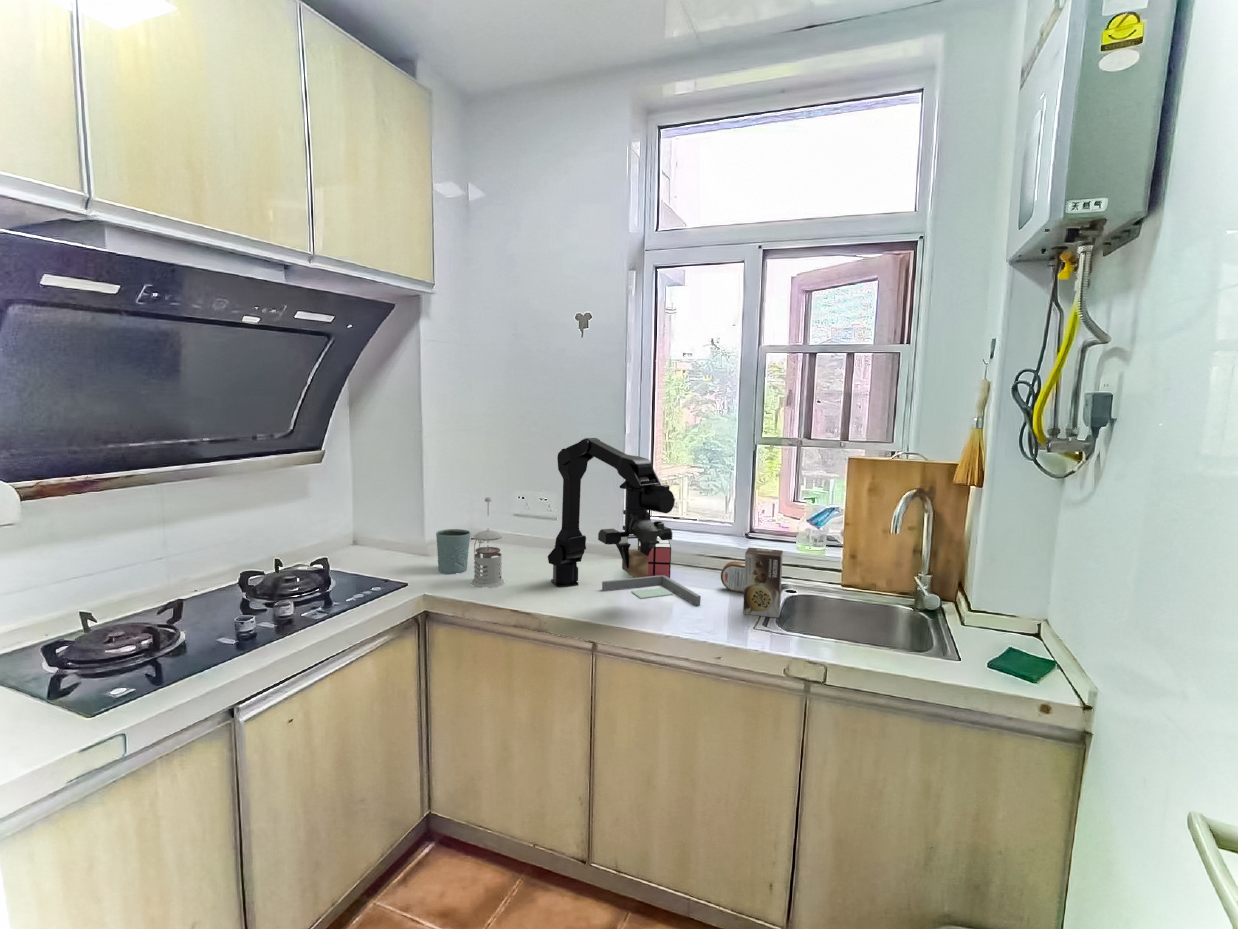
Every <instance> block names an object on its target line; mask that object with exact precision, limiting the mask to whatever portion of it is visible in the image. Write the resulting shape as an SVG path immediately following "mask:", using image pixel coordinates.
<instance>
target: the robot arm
mask: <svg viewBox="0 0 1238 929" xmlns="http://www.w3.org/2000/svg"><path fill="white" fill-rule="evenodd" d="M594 458H596V459H597V460H600V461H601V462H603V463H604V464H606V465H609V466H610V467H613V468H614V469H615V470H616V471H617V474H618V475H619V476H620V477H621V478H622V479H623V480H624V482H622V483H621V484H620V485H619V489H621V490H625V504H624V505H625V506H624V508H625V509H623V510H622V514H623V515H624V525H623V526H622V530H623V531H618V530H617V529H615V528H603V529H600V530H599V531H598V533H597V534H598V535H597V540H598V541H600V542H601V543H603V544H605V545H615V546H616V548H617V550H618V552H619V555H620V556H621V560H623V562H624V565H625V568H627V569H628V568H629V550H630V548H631V544H630V543H629V541H628V540H630V539H637V542H638V541H639V542H640V552H642V553H644V554H645V555H647V556H649V553H650V551H651V549H652V548H653V546H655V545H656V544H659V541H657V540H658V538H660V539H659V540H669V541H672V540H673V531H672V529H671V528H670V527H668V526H665V523H664V521H663V520H655V521H652V520H651V512H648V511H652V512H657V513H662V514H668V513H670V512H671V511H672V510H673V508H674V506H675V501H676V500H675V496H674V494H673V492H672V491H671V490H670V485H669V484H668V485H667V484H661V481H660V480H659V477H658V475H657V473H656V471H655V468H654V467H653V462H652V461H651V460H650V459H649V458H646V457H642V456H638V455H630V454H626V453H624V452H623V451H621V450H619V449H617V448H615V447H613V446H611V445H610V444H607V443H605V442H603V441H601V440H600V439H599V438H597V437H585V438H583V439H581V440H580V441H578V442H575V443H574V444H572V445H570V446H568V447H566V448H562V449H561V450H560V451H559V452H558V454H557V469H558V472H559V474H560V476H561V478H562V481H563V482H562V507H561V508H562V509H561V511H562V512H561V529H560V531H559V533H558V534H557V536H556V537H555V542H554V544H555V545H554V548H553V549H552V550H551V551H550V552H549V553H548V555H547V562H548V564H550V565H552V578H551V579H550V582H551V583H553V584H554V585H555V587H558V588H559V587H569V586H570V587H571V586H578V585H579V567H578V566H577V565H578V563H580V562H581V561H582V558H583V556H584V553H585V552H586V551H585V550H587V547H586V545H587V542H586V541H587V537H586V535H583V534H582V532H581V530H580V515H581V514H580V513H581V511H580V509H581V484H582V483H581V482H582V478H584V477H583V476H585V473H586V472H587V468H588V462H589V461H591V460H592V459H594Z"/></svg>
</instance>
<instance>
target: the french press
mask: <svg viewBox="0 0 1238 929" xmlns="http://www.w3.org/2000/svg"><path fill="white" fill-rule="evenodd" d="M484 502H486V503H487V515H489V504H490V502H492V498H491V497H488V496H487V497H485V499H484ZM473 538H474V539H475V541H474V543H473V544H474V545H473V546H474V547H473V553H474V554H473V555H474V556H473V559H474V560H473V564H474V566H473V569H474V571H473V572H474V574H473V579H472V580H471V581H472V582H471V581H470V585H471V584H472V585H474V586H473V587H476V588H482V587H488V588H495V587H500V586H502V585H504V584H505V583H504V581H505V579H503V577H502V567H503V566H502V563H503V562H502V558H503V557H502V556H503V554H502V553H500V551H501V548H500V547H497V546H496V547H495V546H481V544H484V543H485V542H490V541H497V540H500V539H502V538H503V535H502V534H501V533H500V532H498V531H495V530H490V529H486V530H482V531H479V532H478V533H475V534H474V535H473ZM477 542H478V543H479V545H478V547H477V548H476V543H477ZM481 555H482V556H481ZM481 566H482V567H481ZM501 584H502V585H501ZM472 585H471V586H472Z"/></svg>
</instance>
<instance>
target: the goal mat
mask: <svg viewBox="0 0 1238 929" xmlns="http://www.w3.org/2000/svg"><path fill="white" fill-rule="evenodd" d="M630 592H631V593H632V594H633V595H635V596H636V597H637V596H638V598H639V599H640V598H643V599H649V598H650V599H652V598H658V597H659V596H660V597H668V596H673V595H674V593H673V592H671V591H670V590H669V589H668V590H667V588H665V587H656V588H649V589H648V588H647V589H640V590H639V589H638V590H630Z"/></svg>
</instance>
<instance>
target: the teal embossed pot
mask: <svg viewBox="0 0 1238 929" xmlns="http://www.w3.org/2000/svg"><path fill="white" fill-rule="evenodd" d="M435 536H436V547H437V548H436V549H437V550H436V551H437V570H438V572H439V573H440V574H443V573H444V574H445V575H457V574H456V573H459V574H463V573H465V572H467V570H468V560H469V550H470V549H469V548H470V541H471V531H469V530H466V529H461V528H460V529H459V528H450V529H442V530H438V531H437V532H435ZM444 574H443V575H444Z"/></svg>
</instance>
